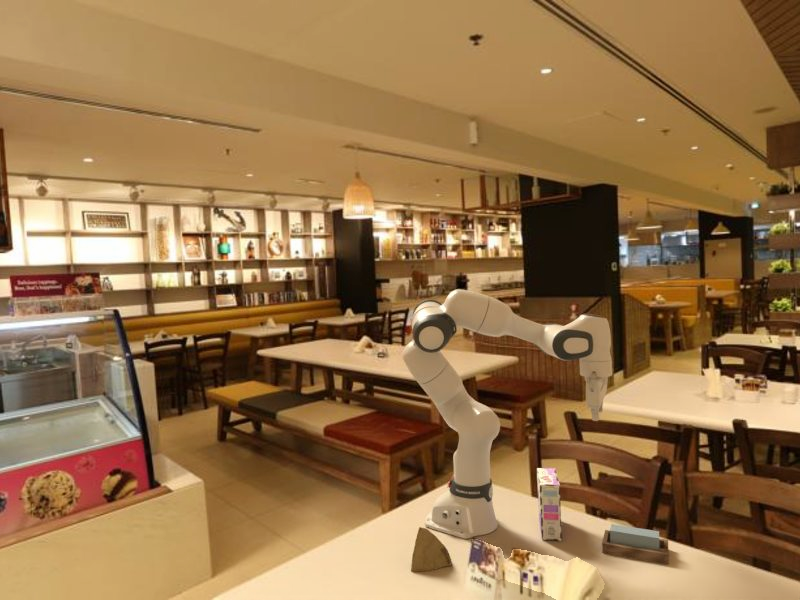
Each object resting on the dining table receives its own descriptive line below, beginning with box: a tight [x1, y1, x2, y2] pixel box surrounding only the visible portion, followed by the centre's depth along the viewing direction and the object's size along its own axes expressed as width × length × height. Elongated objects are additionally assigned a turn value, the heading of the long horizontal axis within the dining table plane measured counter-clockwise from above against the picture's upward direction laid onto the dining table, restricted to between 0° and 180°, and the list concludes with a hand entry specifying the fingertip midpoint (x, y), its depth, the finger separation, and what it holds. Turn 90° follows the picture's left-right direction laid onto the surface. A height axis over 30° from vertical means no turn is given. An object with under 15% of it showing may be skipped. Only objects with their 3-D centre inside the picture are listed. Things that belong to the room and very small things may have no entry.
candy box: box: [536, 467, 563, 542], centre depth 156 cm, size 14×6×16 cm, turn 168°
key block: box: [609, 523, 660, 551], centre depth 142 cm, size 4×12×5 cm, turn 63°
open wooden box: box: [601, 529, 670, 565], centre depth 142 cm, size 16×8×4 cm, turn 63°
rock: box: [410, 526, 453, 573], centre depth 139 cm, size 11×9×10 cm
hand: (597, 415), depth 153 cm, fingers open, 8 cm apart
